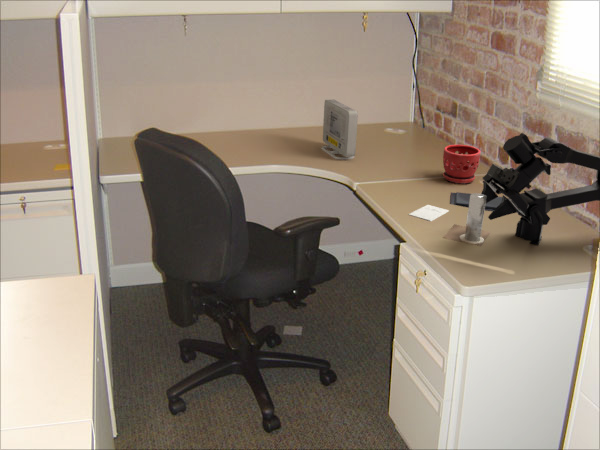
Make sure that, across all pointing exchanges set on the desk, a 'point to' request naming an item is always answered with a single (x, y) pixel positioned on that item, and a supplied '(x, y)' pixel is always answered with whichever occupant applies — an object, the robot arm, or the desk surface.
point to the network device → (339, 129)
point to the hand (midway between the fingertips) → (482, 212)
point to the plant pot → (460, 163)
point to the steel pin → (475, 217)
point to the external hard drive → (429, 212)
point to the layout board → (459, 233)
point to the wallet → (464, 200)
